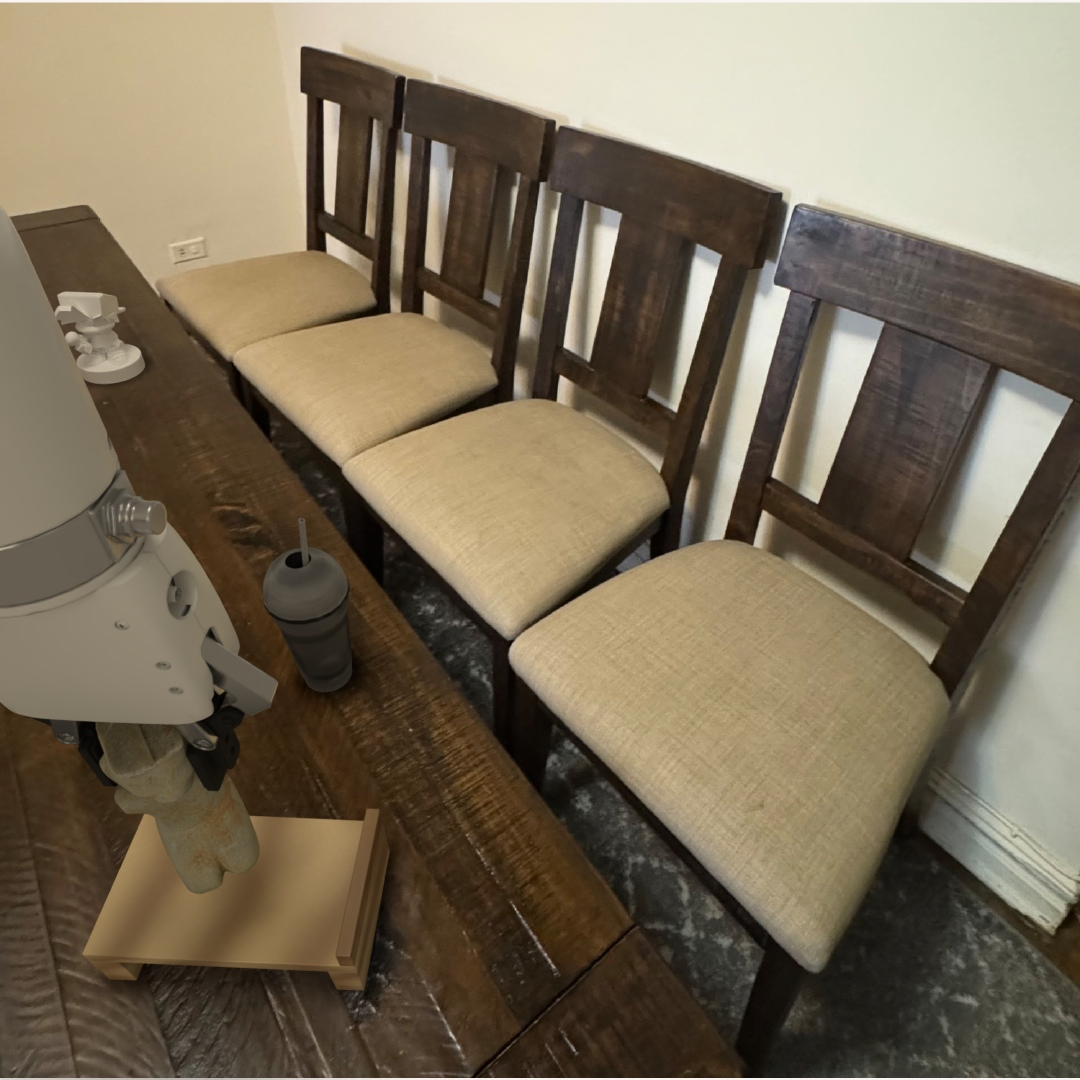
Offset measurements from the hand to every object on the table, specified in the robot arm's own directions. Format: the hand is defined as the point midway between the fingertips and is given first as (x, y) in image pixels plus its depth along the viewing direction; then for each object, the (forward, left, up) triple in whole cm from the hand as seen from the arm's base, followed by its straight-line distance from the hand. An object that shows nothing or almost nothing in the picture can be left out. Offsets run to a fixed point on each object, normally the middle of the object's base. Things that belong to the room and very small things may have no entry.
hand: (172, 763), depth 41 cm
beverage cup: (0, +22, -21) cm, 31 cm away
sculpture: (0, 0, -10) cm, 10 cm away
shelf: (0, 0, -21) cm, 21 cm away
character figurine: (-45, +76, -21) cm, 91 cm away
